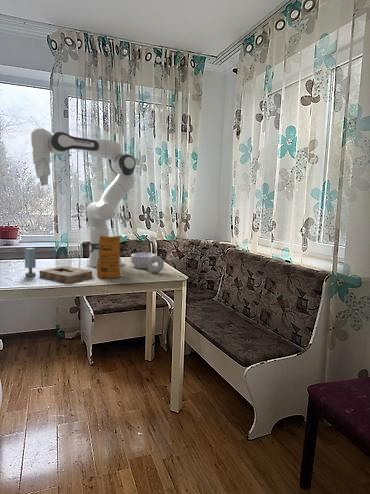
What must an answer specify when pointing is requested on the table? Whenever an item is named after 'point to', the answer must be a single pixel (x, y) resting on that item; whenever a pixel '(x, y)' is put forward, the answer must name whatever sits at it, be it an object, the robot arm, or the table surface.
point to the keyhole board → (65, 274)
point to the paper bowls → (141, 259)
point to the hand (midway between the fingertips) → (44, 185)
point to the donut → (153, 259)
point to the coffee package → (108, 257)
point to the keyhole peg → (30, 261)
